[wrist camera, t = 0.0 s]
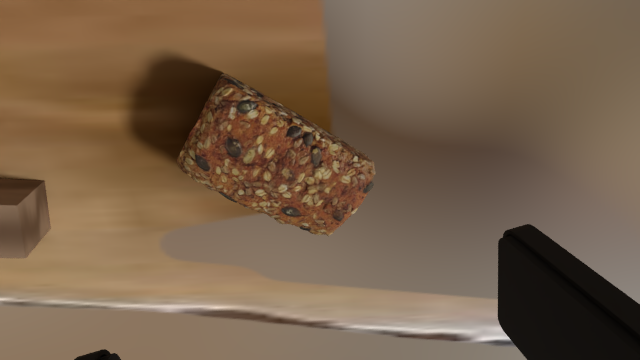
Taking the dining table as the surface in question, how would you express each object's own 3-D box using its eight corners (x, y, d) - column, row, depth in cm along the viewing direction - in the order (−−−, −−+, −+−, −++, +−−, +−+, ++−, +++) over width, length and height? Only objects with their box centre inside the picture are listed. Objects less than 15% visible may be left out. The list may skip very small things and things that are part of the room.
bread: (360, 145, 48) (389, 177, 39) (314, 212, 51) (331, 257, 42) (223, 63, 41) (220, 79, 32) (178, 146, 44) (164, 182, 35)
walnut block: (-20, 177, 41) (-59, 202, 36) (44, 180, 42) (17, 205, 37) (-10, 226, 43) (-45, 257, 38) (51, 227, 45) (25, 258, 39)
